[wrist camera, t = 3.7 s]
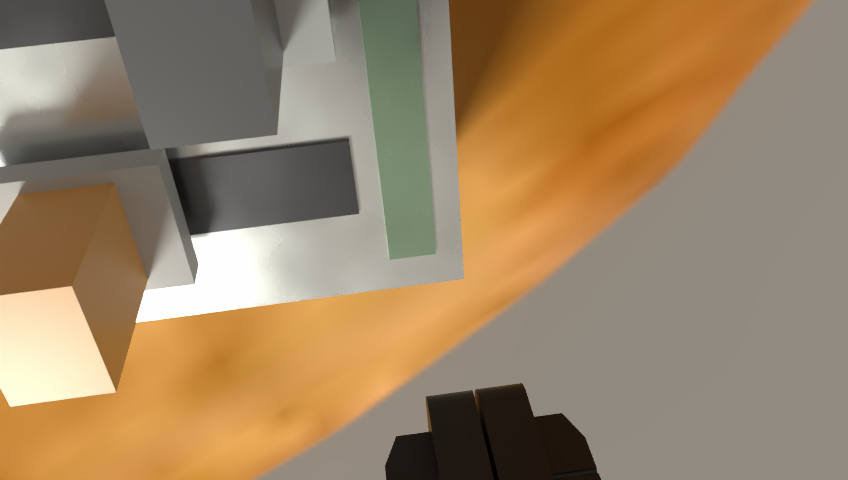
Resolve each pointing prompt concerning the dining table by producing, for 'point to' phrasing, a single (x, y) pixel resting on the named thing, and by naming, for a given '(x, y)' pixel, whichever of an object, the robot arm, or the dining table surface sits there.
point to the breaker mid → (215, 63)
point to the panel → (268, 153)
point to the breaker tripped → (83, 267)
